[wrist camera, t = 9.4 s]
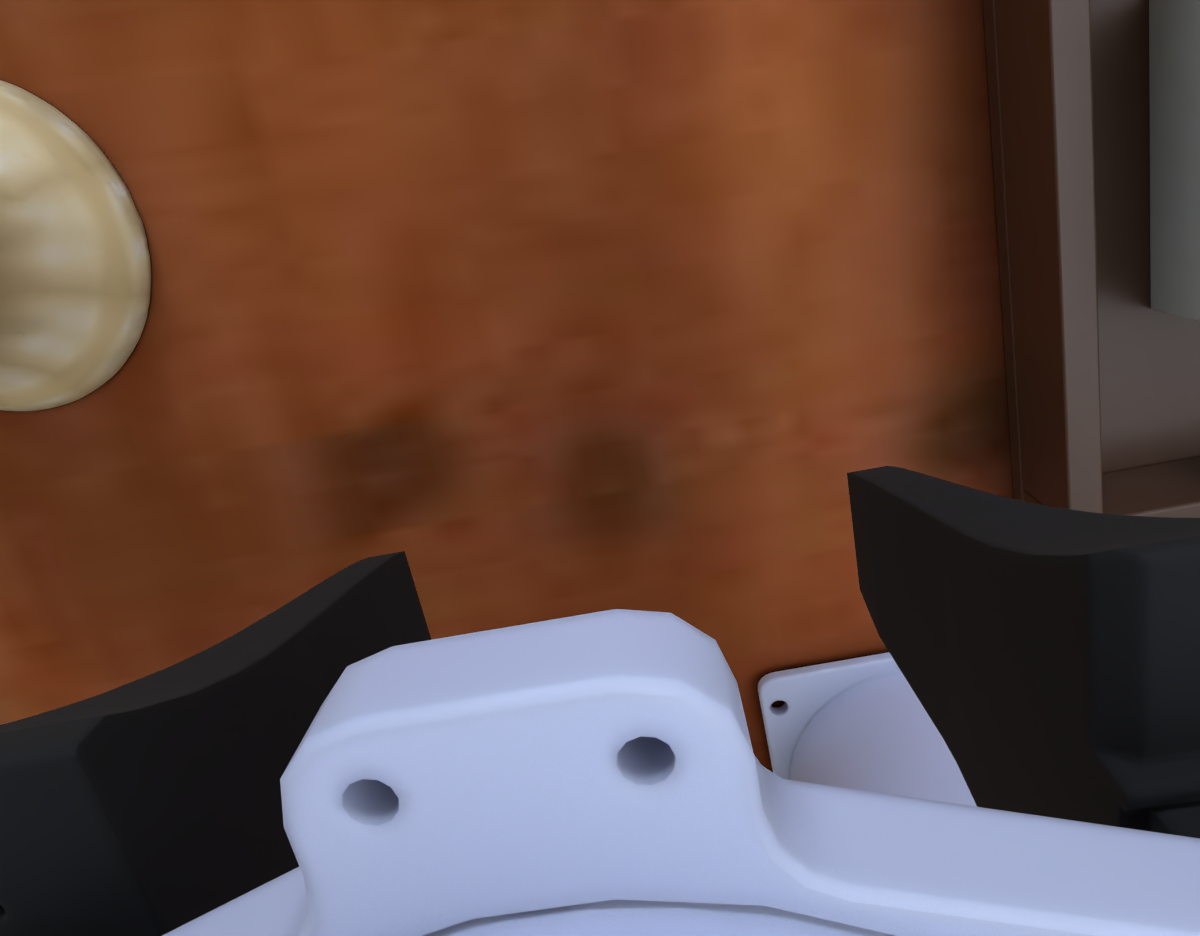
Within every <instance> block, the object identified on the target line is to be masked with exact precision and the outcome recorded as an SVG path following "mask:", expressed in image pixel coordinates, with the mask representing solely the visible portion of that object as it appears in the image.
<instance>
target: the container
mask: <svg viewBox="0 0 1200 936" xmlns="http://www.w3.org/2000/svg"><path fill="white" fill-rule="evenodd" d="M1149 94H1150V276H1151V309H1153V310H1157V311H1161V312H1165V313H1169V314H1173V315H1177V316H1181V317H1185V318H1189V319H1193V320H1197V321H1200V0H1149Z"/></svg>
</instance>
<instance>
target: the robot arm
mask: <svg viewBox="0 0 1200 936" xmlns="http://www.w3.org/2000/svg"><path fill="white" fill-rule="evenodd" d="M847 476H848V485H849V494H850V503H851V512H852V522H853V531H854V540H855V549H856V558H857V567H858V576H859V585H860V590H861V593H862V595H863V598H864V600H865V603H866V605H867V608H868V610H869V613H870V615H871V617H872V620H873V622H874V624H875V627H876V629H877V631H878V633H879V636H880V638H881V639H882V641H883V643H884V644H885V646H886V648H887V649H888V651H889V652H888V653H882V654H876V655H870V656H864V657H859V658H853V659H847V660H841V661H835V662H829V663H824V664H818V665H812V666H806V667H800V668H795V669H789V670H783V671H777V672H772V673H769V674H766V675H765V676H763V677H762V678H761V679H760V681H759V683H758V694H759V699H760V705H761V710H762V716H763V721H764V727H765V732H766V738H767V743H768V749H769V754H770V760H771V765H772V771H773V772H771V771H770V770H768V769H767V768H765V767H764V766H762V765H761V764H760V762H759V761H758V759H757V758H756V756H755V755H754V753H753V749H752V745H751V740H750V736H749V732H748V727H747V723H746V719H745V714H744V710H743V706H742V701H741V697H740V693H739V688H738V684H737V681H736V679H735V677H734V675H733V673H732V671H731V669H730V667H729V665H728V663H727V661H726V660H725V658H724V656H723V654H722V652H721V650H720V648H719V646H718V644H717V642H716V640H715V639H713V638H711V637H710V636H708V635H706V634H705V633H703V632H702V631H700V630H698V629H697V628H695V627H693V626H692V625H690V624H689V623H687V622H685V621H684V620H682V619H680V618H679V617H677V616H675V615H674V614H672V613H668V612H653V611H638V610H623V609H613V610H607V611H601V612H595V613H589V614H583V615H577V616H571V617H565V618H559V619H553V620H547V621H541V622H535V623H529V624H523V625H517V626H511V627H505V628H499V629H493V630H487V631H481V632H475V633H469V634H463V635H457V636H451V637H445V638H439V639H433V640H431V637H430V634H429V631H428V628H427V624H426V621H425V618H424V614H423V611H422V608H421V604H420V601H419V598H418V595H417V591H416V588H415V585H414V581H413V578H412V575H411V571H410V568H409V565H408V562H407V558H406V555H405V552H404V551H403V552H398V553H392V554H386V555H381V556H375V557H369V558H366V559H364V560H361V561H358V562H356V563H354V564H352V565H350V566H348V567H347V568H345V569H343V570H341V571H339V572H338V573H336V574H334V575H333V576H331V577H329V578H328V579H326V580H324V581H323V582H321V583H320V584H318V585H316V586H315V587H313V588H312V589H310V590H308V591H307V592H305V593H304V594H302V595H300V596H299V597H297V598H296V599H294V600H292V601H291V602H289V603H288V604H286V605H284V606H283V607H281V608H279V609H278V610H276V611H274V612H273V613H271V614H269V615H267V616H266V617H264V618H262V619H261V620H259V621H257V622H256V623H254V624H252V625H250V626H249V627H247V628H245V629H244V630H242V631H240V632H238V633H237V634H235V635H233V636H231V637H229V638H228V639H226V640H224V641H222V642H220V643H218V644H216V645H214V646H212V647H210V648H208V649H207V650H204V651H202V652H200V653H198V654H196V655H194V656H192V657H190V658H188V659H186V660H183V661H181V662H179V663H177V664H175V665H173V666H170V667H168V668H166V669H164V670H161V671H159V672H156V673H154V674H151V675H149V676H146V677H144V678H141V679H138V680H136V681H133V682H131V683H128V684H126V685H123V686H121V687H118V688H116V689H113V690H111V691H108V692H106V693H103V694H100V695H97V696H94V697H92V698H89V699H86V700H83V701H80V702H77V703H74V704H71V705H68V706H65V707H61V708H58V709H55V710H52V711H48V712H45V713H42V714H39V715H35V716H32V717H29V718H25V719H21V720H18V721H14V722H11V723H7V724H3V725H0V936H1200V518H1172V517H1148V516H1131V515H1114V514H1104V513H1094V512H1086V511H1079V510H1072V509H1065V508H1058V507H1051V506H1045V505H1040V504H1034V503H1029V502H1025V501H1020V500H1016V499H1012V498H1007V497H1003V496H999V495H994V494H991V493H987V492H983V491H979V490H976V489H972V488H969V487H965V486H962V485H958V484H955V483H951V482H948V481H945V480H942V479H938V478H935V477H932V476H928V475H925V474H922V473H918V472H915V471H911V470H907V469H903V468H899V467H893V466H885V467H879V468H873V469H868V470H862V471H856V472H851V473H847ZM778 700H781V701H784V702H785V703H784V705H783V706H781V707H778V708H777V707H772V706H771V704H772V703H773V702H775V701H778Z"/></svg>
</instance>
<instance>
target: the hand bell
mask: <svg viewBox="0 0 1200 936" xmlns="http://www.w3.org/2000/svg"><path fill="white" fill-rule="evenodd" d="M150 292H151V267H150V255H149V250H148V246H147V238H146V233H145V229H144V225H143V223H142V220H141V217H140V215H139V213H138V211H137V210H136V207H135V205H134V202H133V200H132V198H131V195H130V193H129V191H128V189H127V187H126V186H125V184H124V182H123V181H122V179H121V178H120V176H119V174H118V173H117V171H116V170H115V168H114V167H113V165H112V164H111V163H110V161H109V160H108V159H107V158H106V156H105V155H104V154H103V152H102V151H101V150H100V149H99V147H98V146H97V145H96V144H95V143H94V142H93V140H92V139H91V138H90V137H89V136H88V135H87V134H86V133H85V132H84V131H83V130H81V129H80V128H79V127H78V126H77V125H76V124H75V123H74V122H72V121H71V120H70V119H69V118H67V117H66V116H65V115H64V114H62V113H61V112H60V111H59V110H57V109H56V108H55V107H53V106H51V105H50V104H48V103H47V102H45V101H43V100H42V99H40V98H38V97H36V96H35V95H33V94H31V93H29V92H28V91H26V90H24V89H22V88H19V87H17V86H15V85H12V84H10V83H7V82H4V81H2V80H0V410H6V411H37V410H44V409H49V408H54V407H58V406H61V405H65V404H68V403H71V402H73V401H76V400H78V399H80V398H82V397H84V396H86V395H88V394H89V393H91V392H93V391H94V390H96V389H97V388H99V387H100V386H102V385H103V384H104V383H105V382H107V381H108V380H109V379H110V378H112V377H113V376H114V375H115V374H116V373H117V372H118V371H119V370H120V368H121V367H122V366H123V365H124V363H125V362H126V361H127V359H128V358H129V356H130V355H131V353H132V352H133V350H134V348H135V346H136V344H137V343H138V341H139V339H140V337H141V334H142V331H143V329H144V325H145V322H146V319H147V315H148V310H149V304H150Z"/></svg>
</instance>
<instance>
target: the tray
mask: <svg viewBox="0 0 1200 936" xmlns="http://www.w3.org/2000/svg"><path fill="white" fill-rule="evenodd" d="M983 11H984V28H985V44H986V60H987V76H988V92H989V108H990V124H991V140H992V156H993V172H994V188H995V205H996V221H997V237H998V253H999V269H1000V285H1001V301H1002V317H1003V333H1004V349H1005V366H1006V382H1007V398H1008V414H1009V430H1010V446H1011V462H1012V478H1013V494H1014V499H1016V500H1020V501H1025V502H1029V503H1034V504H1040V505H1045V506H1051V507H1058V508H1065V509H1072V510H1079V511H1086V512H1094V513H1104V514H1114V515H1131V516H1148V517H1172V518H1200V321H1197V320H1193V319H1189V318H1185V317H1181V316H1177V315H1173V314H1169V313H1165V312H1161V311H1157V310H1153V309H1151V276H1150V94H1149V0H983Z"/></svg>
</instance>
